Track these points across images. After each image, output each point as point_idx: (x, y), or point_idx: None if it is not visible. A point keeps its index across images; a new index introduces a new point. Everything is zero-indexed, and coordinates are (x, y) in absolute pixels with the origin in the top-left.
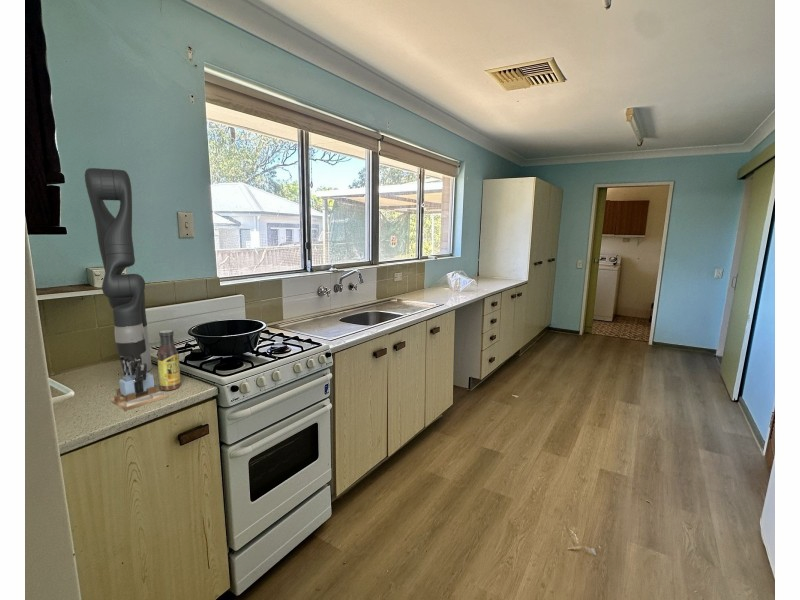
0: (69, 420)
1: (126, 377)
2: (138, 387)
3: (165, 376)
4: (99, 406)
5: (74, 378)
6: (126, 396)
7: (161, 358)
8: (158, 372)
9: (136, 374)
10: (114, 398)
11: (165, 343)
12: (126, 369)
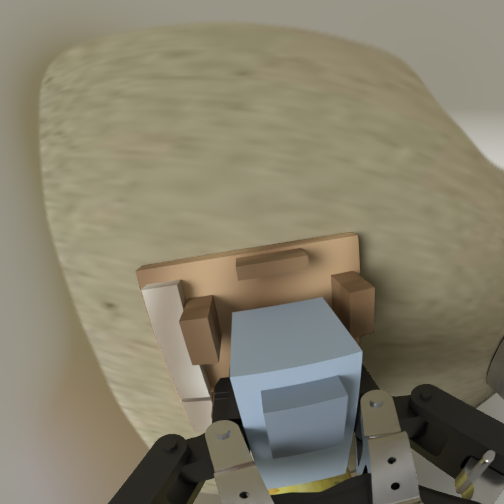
0: (222, 38)
1: (298, 419)
2: (216, 403)
3: (273, 490)
4: (315, 170)
5: None
6: (194, 315)
7: None
8: (323, 488)
9: (146, 489)
10: (300, 252)
11: None
12: (368, 469)
